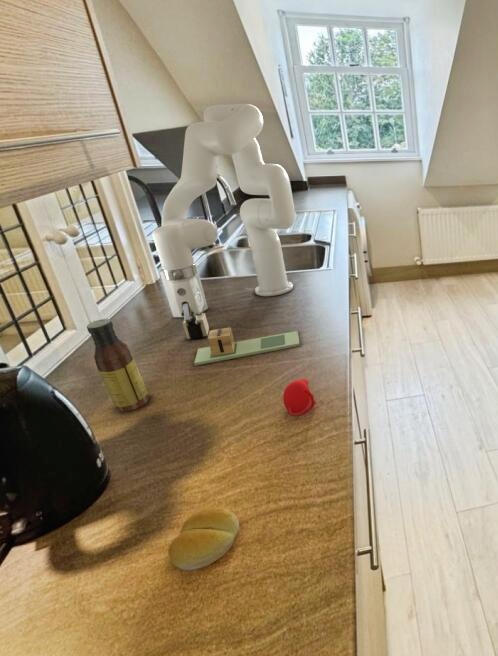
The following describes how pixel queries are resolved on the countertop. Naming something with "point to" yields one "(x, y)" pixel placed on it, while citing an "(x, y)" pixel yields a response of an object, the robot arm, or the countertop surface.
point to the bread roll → (204, 538)
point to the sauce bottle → (117, 367)
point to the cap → (298, 398)
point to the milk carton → (172, 299)
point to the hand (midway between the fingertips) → (198, 332)
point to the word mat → (250, 347)
